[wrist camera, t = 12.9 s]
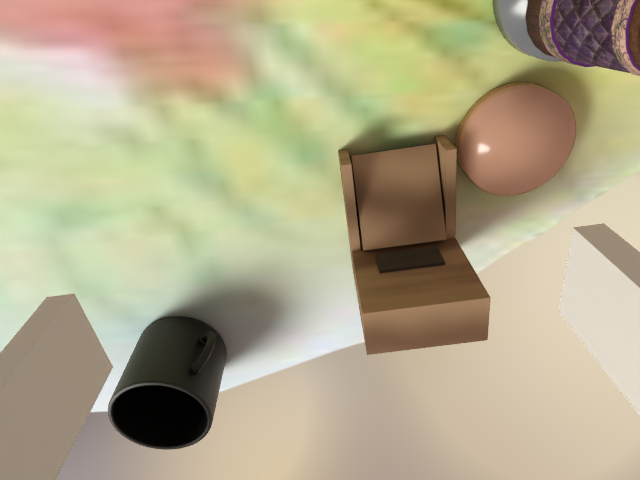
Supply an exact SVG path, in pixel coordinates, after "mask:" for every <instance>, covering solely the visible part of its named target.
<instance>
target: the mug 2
mask: <svg viewBox="0 0 640 480" xmlns="http://www.w3.org/2000/svg"><path fill="white" fill-rule="evenodd" d="M525 18H526V25H527V32H528V35H529V37H530V38H531V40H532V42H533V44H534V46H535V47H536V48H538V49H539V50H540V51H541V52H543V53H544V54H545V55H549V56H552V57H556V58H557V59H558V60H560V61H564V62H567V63H571V64H575V65H579V66H583V67H592V66H598V67H603V68H608V69H613V70H618V71H623V72H628V73H631V74H635V75H638V76H640V0H528V3H527V10H526V16H525Z"/></svg>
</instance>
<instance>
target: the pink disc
mask: <svg viewBox="0 0 640 480" xmlns="http://www.w3.org/2000/svg"><path fill="white" fill-rule="evenodd" d="M575 134H576V123H575V118H574V114H573V112H572V109H571V108H570V106H569V104H568V103H567V102H566V101H565V100H564V99H563V98H562V97H561V96H560V95H558V94H557V93H555V92H553V91H551V90H549V89H546V88H544V87H542V86H539V85H536V84H533V83H528V82H515V83H509V84H505V85H502V86H499V87H497V88H495V89H493V90H491V91H489V92H488V93H486V94H485V95H483V96H482V97H481V98H480V99H478V100H477V101H476V102H475V103H474V104H473V105H472V107H471V108H470V109H469V110H468V112H467V113H466V115H465V116H464V118H463V120H462V122H461V124H460V127H459V129H458V133H457V137H456V149H457V158H458V161H459V164H460V166H461V167H462V169H463V170H464V172H465V173H466V174H467V175H468V177H469V178H470V179H471V180H472V181H473V182H474V183H475V184H476V185H477V186H478V187H479V188H481V189H482V190H484V191H486V192H488V193H492V194H495V195H502V196H510V195H518V194H522V193H525V192H528V191H531V190H533V189H535V188H537V187H539V186H541V185H542V184H544V183H545V182H547V181H548V180H549V179H550V178H552V177H553V176H554V175H555V174H556V173H557V172H558V171H559V170H560V168H561V167H562V166H563V165H564V163H565V161H566V160H567V158H568V156H569V154H570V152H571V150H572V147H573V145H574V140H575Z"/></svg>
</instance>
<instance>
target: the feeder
mask: <svg viewBox="0 0 640 480" xmlns="http://www.w3.org/2000/svg"><path fill="white" fill-rule="evenodd" d="M338 153H339V161H340V169H341V177H342V185H343V193H344V202H345V210H346V218H347V226H348V234H349V242H350V250H351V259H352V267H353V273H354V279H355V285H356V291H357V297H358V303H359V309H360V315H361V321H362V327H363V333H364V339H365V345H366V351H367V355H368V354H377V353H385V352H393V351H401V350H410V349H418V348H425V347H434V346H442V345H451V344H459V343H467V342H475V341H484V340H487V338H488V324H489V310H490V296H489V294H488V293H487V291H486V289H485V288H484V286H483V285H482V283H481V281H480V279H479V277H478V276H477V274H476V272H475V271H474V269H473V267H472V266H471V264H470V262H469V261H468V259H467V257H466V255H465V254H464V252H463V250H462V249H461V247H460V245H459V244H458V242H457V240H456V239H455V215H456V159H457V149H456V148H455V147H454V146H453V145H452V143H451V142H450V141H449V140H448V139H447V138H446V137H445V136H444V135H443V136H436V137H435V144H430V145H423V146H416V147H409V148H402V149H395V150H388V151H381V152H374V153H367V154H360V155H353V156H351V161H352V166H351V161H350V157H349V153H348V149H346V150H339V151H338ZM352 168H353V175H352ZM353 176H354V184H355V191H356V199H357V207H358V214H359V222H360V230H358V221H357V212H356V203H355V193H354V184H353Z"/></svg>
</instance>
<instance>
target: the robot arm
mask: <svg viewBox="0 0 640 480" xmlns="http://www.w3.org/2000/svg"><path fill="white" fill-rule="evenodd" d="M559 313H560V314H561V315H562V317H563V318H564V319H565V320H566V322H567V323H568V324H569V326H570V327H571V328H572V330H573V331H574V332H575V334H576V335H577V336H578V337H579V339H580V340H581V341H582V342H583V344H584V345H585V346H586V348H587V349H588V350H589V352H590V353H591V354H592V355H593V356H594V358H595V359H596V361H597V362H598V363H599V364H600V366H601V367H602V368H603V370H604V371H605V372H606V373H607V375H608V376H609V377H610V379H611V380H612V381H613V383H614V384H615V385H616V386H617V388H618V389H619V390H620V392H621V393H622V394H623V396H624V397H625V398H626V399H627V401H628V402H629V403H630V405H631V406H632V407H633V408H634V410H635V411H636V412H637V413H638V415H639V416H640V252H639V251H638V250H636V249H635V248H634V247H632V246H631V245H630V244H629V243H628V242H626V241H625V240H624V239H622V238H621V237H620V236H619V235H618V234H616V233H615V232H614V231H612V230H611V229H610V228H609V227H608V226H606V225H605V224H597V225H589V226H581V227H574V228H573V231H572V237H571V242H570V248H569V254H568V260H567V266H566V272H565V278H564V283H563V289H562V295H561V301H560V307H559ZM112 368H113V366H112V364H111V362H110V360H109V359H108V357H107V355H106V353H105V351H104V349H103V347H102V345H101V343H100V341H99V340H98V338H97V336H96V334H95V332H94V330H93V328H92V326H91V324H90V322H89V321H88V319H87V317H86V315H85V313H84V311H83V309H82V307H81V305H80V304H79V302H78V300H77V298H76V296H75V294H68V295H61V296H53V297H47V298H46V299H45V300H44V301H43V302H42V304H41V305H40V306H39V307H38V309H37V310H36V311H35V312H34V313H33V315H32V316H31V317H30V318H29V319H28V321H27V322H26V323H25V324H24V325H23V327H22V328H21V329H20V330H19V331H18V333H17V334H16V335H15V336H14V337H13V339H12V340H11V341H10V342H9V343H8V345H7V346H6V347H5V348H4V349H3V351H2V352H1V353H0V480H56V478H57V476H58V474H59V472H60V470H61V468H62V466H63V464H64V462H65V460H66V458H67V456H68V455H69V453H70V451H71V449H72V446H73V445H74V443H75V441H76V439H77V437H78V435H79V433H80V431H81V429H82V427H83V425H84V423H85V421H86V419H87V417H88V415H89V413H90V411H91V409H92V407H93V405H94V403H95V401H96V399H97V397H98V395H99V393H100V391H101V389H102V387H103V385H104V383H105V381H106V380H107V378H108V376H109V374H110V372H111V370H112Z"/></svg>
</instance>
